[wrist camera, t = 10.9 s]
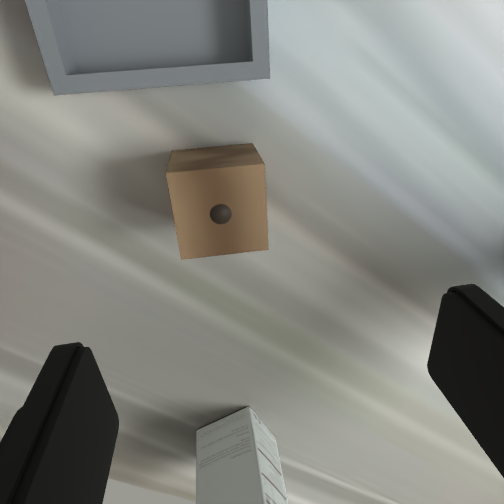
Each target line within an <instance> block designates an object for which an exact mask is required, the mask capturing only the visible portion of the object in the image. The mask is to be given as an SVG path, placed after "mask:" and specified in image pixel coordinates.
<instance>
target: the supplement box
mask: <svg viewBox="0 0 504 504" xmlns="http://www.w3.org/2000/svg"><path fill="white" fill-rule="evenodd" d="M196 504H288V499H287V494H286V489H285V484H284V479H283V474H282V469H281V464H280V459H279V453H278V448H277V444H276V439H275V437H274V436H273V435H272V433H271V432H270V431H269V430H268V428H267V427H266V426H265V425H264V423H263V422H262V421H261V420H260V419H259V417H258V416H257V415H256V414H255V412H254V411H253V410H252V409H251V408H250V407H246V408H244V409H242V410H240V411H238V412H236V413H233V414H231V415H229V416H227V417H225V418H223V419H220V420H218V421H216V422H214V423H212V424H209V425H207V426H205V427H203V428H201V429H198V430H197V431H196Z"/></svg>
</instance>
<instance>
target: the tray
mask: <svg viewBox="0 0 504 504" xmlns="http://www.w3.org/2000/svg"><path fill="white" fill-rule="evenodd" d="M25 3H26V6H27V9H28V12H29V16H30V19H31V22H32V25H33V29H34V32H35V35H36V38H37V42H38V45H39V48H40V51H41V55H42V58H43V61H44V64H45V68H46V71H47V74H48V78H49V81H50V84H51V87H52V91H53V94H54V95H65V94H77V93H90V92H103V91H116V90H129V89H141V88H154V87H167V86H180V85H192V84H205V83H218V82H231V81H244V80H256V79H269V78H270V66H269V37H268V8H267V0H25Z"/></svg>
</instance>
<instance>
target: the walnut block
mask: <svg viewBox="0 0 504 504" xmlns="http://www.w3.org/2000/svg"><path fill="white" fill-rule="evenodd" d="M166 178H167V183H168V189H169V194H170V200H171V205H172V211H173V216H174V222H175V227H176V233H177V238H178V244H179V249H180V255H181V260H182V259H191V258H200V257H209V256H217V255H226V254H235V253H243V252H252V251H261V250H268V228H267V205H266V182H265V163H264V162H263V160H262V158H261V157H260V155H259V153H258V152H257V150H256V148H255V147H254V145H253V143H251V144H240V145H229V146H218V147H207V148H196V149H185V150H173V151H172V154H171V157H170V160H169V164H168V167H167V170H166Z"/></svg>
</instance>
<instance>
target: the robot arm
mask: <svg viewBox="0 0 504 504" xmlns="http://www.w3.org/2000/svg"><path fill="white" fill-rule="evenodd" d="M427 367H428V372H429V374H430V376H431V378H432V379H433V381H434V382H435V383H436V385H437V386H438V388H439V389H440V390H441V392H442V393H443V395H444V396H445V397H446V399H447V400H448V401H449V403H450V404H451V406H452V407H453V408H454V410H455V411H456V412H457V414H458V415H459V417H460V418H461V419H462V421H463V422H464V424H465V425H466V426H467V428H468V429H469V430H470V432H471V433H472V435H473V436H474V437H475V439H476V440H477V442H478V443H479V444H480V446H481V447H482V448H483V450H484V451H485V453H486V454H487V455H488V457H489V458H490V460H491V461H492V462H493V464H494V465H495V466H496V468H497V469H498V471H499V472H500V473H501V475H502V476H503V478H504V307H503V306H501V305H500V304H499V303H498V302H497V301H495V300H494V299H493V298H492V297H490V296H489V295H488V294H487V293H486V292H484V291H483V290H482V289H481V288H480V287H478V286H477V285H475V284H467V285H460V286H454V287H450V288H449V289H448V291H447V293H445V294H444V295H443V297H442V300H441V305H440V309H439V314H438V318H437V323H436V327H435V332H434V336H433V341H432V345H431V350H430V354H429V359H428V364H427ZM118 428H119V419H118V414H117V412H116V409H115V407H114V404H113V402H112V399H111V397H110V395H109V392H108V390H107V387H106V385H105V382H104V380H103V378H102V375H101V373H100V370H99V368H98V365H97V363H96V361H95V358H94V356H93V353H92V351H91V349H90V348H89V347H84V346H83V345H82V344H81V343H80V342H77V343H70V344H63V345H57V346H54V347H53V348H52V350H51V352H50V354H49V356H48V358H47V360H46V362H45V364H44V366H43V368H42V370H41V372H40V374H39V375H38V377H37V379H36V381H35V383H34V385H33V387H32V389H31V391H30V393H29V395H28V397H27V399H26V401H25V403H24V405H23V407H21V408H20V409H19V410H18V411H17V413H16V414H15V416H14V417H13V419H12V421H11V423H10V425H9V427H8V429H7V431H6V433H5V435H4V437H3V438H2V440H1V442H0V504H102V503H103V498H104V493H105V489H106V484H107V480H108V475H109V471H110V466H111V461H112V457H113V452H114V448H115V443H116V438H117V434H118Z"/></svg>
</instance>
